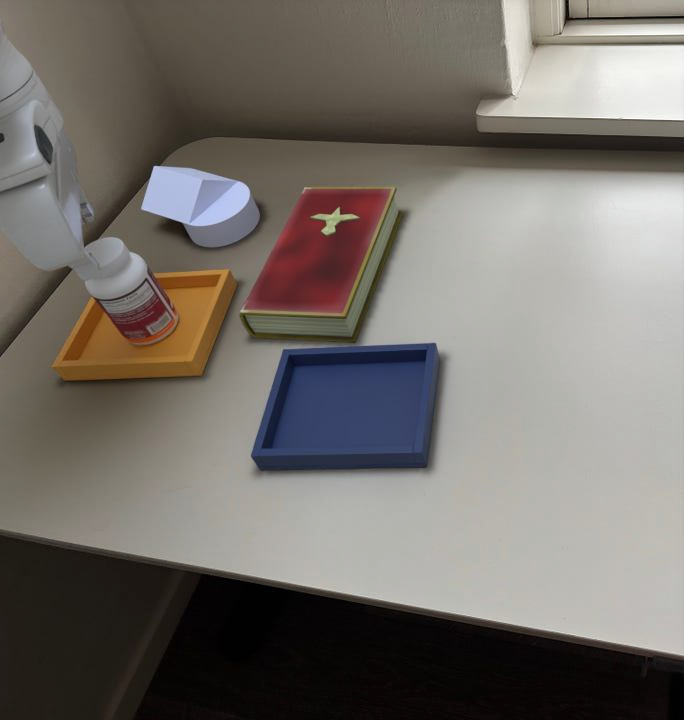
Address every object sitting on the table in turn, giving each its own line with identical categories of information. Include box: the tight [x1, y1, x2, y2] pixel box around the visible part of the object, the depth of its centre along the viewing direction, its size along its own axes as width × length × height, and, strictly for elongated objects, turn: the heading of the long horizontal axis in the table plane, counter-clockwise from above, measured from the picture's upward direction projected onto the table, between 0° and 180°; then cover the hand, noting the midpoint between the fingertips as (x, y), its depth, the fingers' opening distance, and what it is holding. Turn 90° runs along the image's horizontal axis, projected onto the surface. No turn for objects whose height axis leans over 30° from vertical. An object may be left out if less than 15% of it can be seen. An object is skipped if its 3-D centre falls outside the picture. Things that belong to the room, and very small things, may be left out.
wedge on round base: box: [140, 165, 261, 248], centre depth 89 cm, size 9×7×13 cm
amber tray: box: [51, 268, 238, 382], centre depth 79 cm, size 16×14×2 cm
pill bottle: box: [84, 236, 178, 346], centre depth 75 cm, size 6×6×11 cm
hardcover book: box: [238, 186, 404, 343], centre depth 81 cm, size 12×21×4 cm, turn 170°
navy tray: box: [250, 342, 441, 471], centre depth 68 cm, size 16×13×2 cm
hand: (89, 246), depth 70 cm, fingers open, 8 cm apart
